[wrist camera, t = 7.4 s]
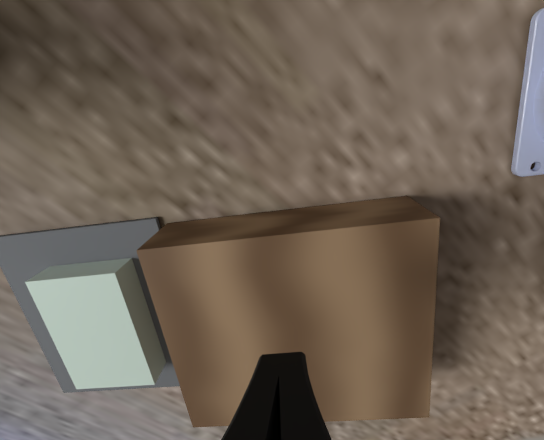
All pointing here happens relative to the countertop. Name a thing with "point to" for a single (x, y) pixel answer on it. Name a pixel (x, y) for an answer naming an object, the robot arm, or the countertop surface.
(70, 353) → the pale green rectangular block
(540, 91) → the robot arm
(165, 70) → the countertop surface
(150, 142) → the countertop surface
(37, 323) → the mat
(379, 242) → the tan square board
